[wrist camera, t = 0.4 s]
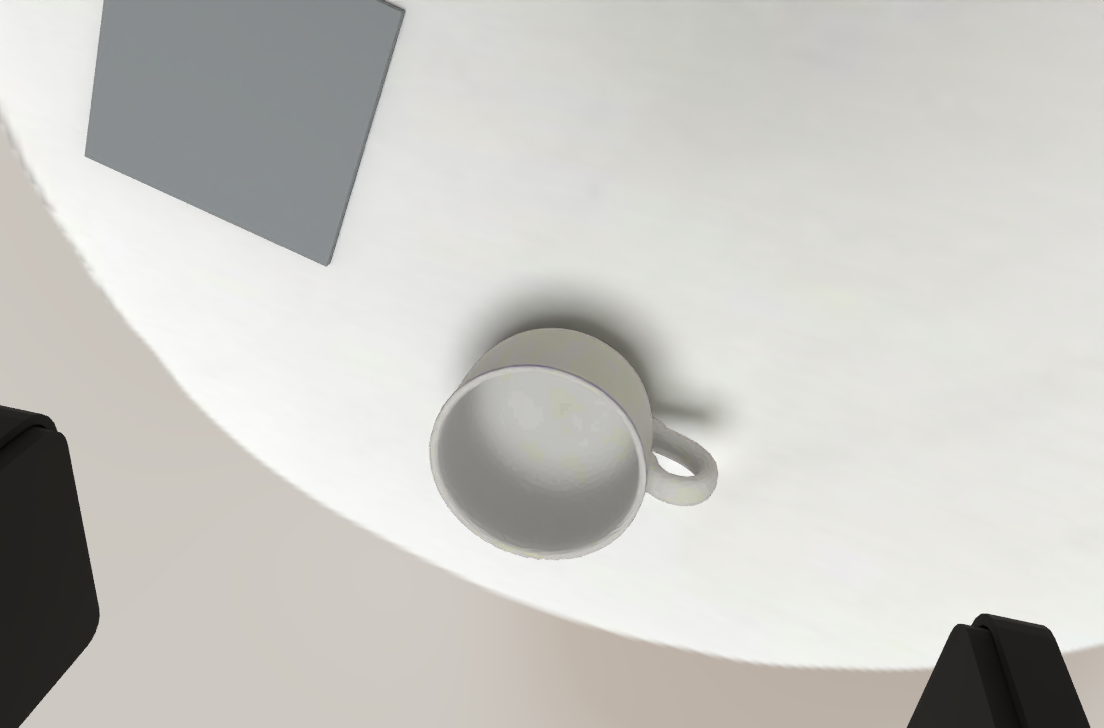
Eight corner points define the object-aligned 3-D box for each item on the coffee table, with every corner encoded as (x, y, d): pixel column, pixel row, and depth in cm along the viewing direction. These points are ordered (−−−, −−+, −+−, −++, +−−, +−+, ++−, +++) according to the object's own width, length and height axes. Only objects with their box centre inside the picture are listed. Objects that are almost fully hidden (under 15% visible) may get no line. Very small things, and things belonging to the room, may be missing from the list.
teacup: (451, 433, 53) (407, 517, 46) (496, 272, 48) (454, 341, 41) (676, 512, 53) (666, 610, 46) (748, 360, 47) (748, 445, 40)
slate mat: (125, -121, 41) (118, -120, 41) (405, 10, 42) (401, 12, 41) (90, 153, 49) (84, 156, 48) (330, 263, 49) (326, 266, 49)
